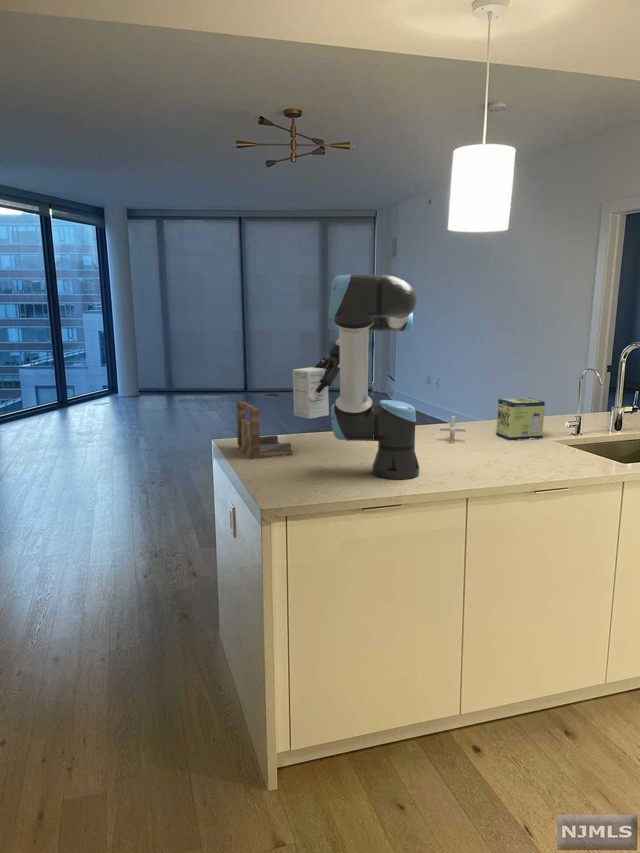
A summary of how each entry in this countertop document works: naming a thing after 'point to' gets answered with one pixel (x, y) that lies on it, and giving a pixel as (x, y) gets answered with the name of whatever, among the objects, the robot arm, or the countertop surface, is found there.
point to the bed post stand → (257, 435)
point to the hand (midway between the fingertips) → (303, 396)
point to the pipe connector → (452, 428)
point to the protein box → (520, 418)
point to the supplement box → (303, 386)
